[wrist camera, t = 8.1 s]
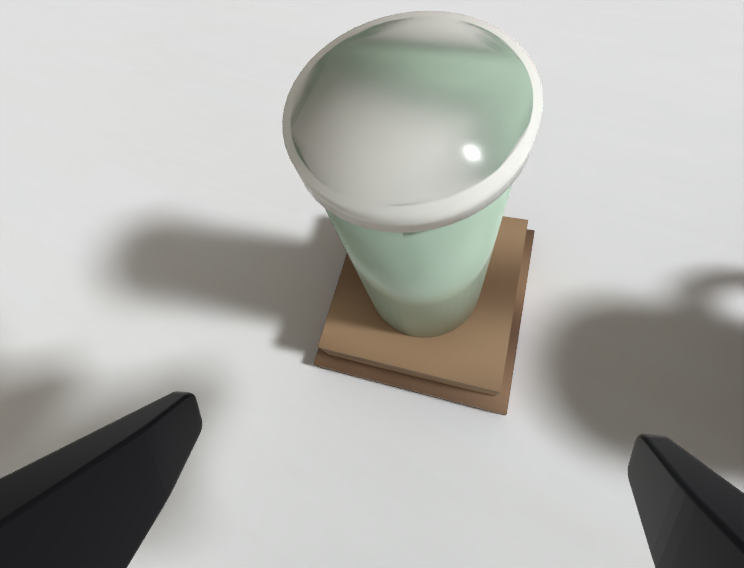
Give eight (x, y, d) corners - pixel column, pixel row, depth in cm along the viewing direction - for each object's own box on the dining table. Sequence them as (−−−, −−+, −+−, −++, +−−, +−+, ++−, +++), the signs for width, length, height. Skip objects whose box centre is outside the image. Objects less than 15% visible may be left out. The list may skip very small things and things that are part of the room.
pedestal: (504, 415, 20) (514, 412, 17) (317, 366, 23) (300, 357, 20) (531, 236, 23) (543, 210, 21) (365, 211, 26) (356, 184, 23)
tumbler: (443, 365, 19) (450, 264, 8) (344, 301, 21) (233, 146, 9) (506, 266, 20) (592, 53, 9) (407, 214, 22) (374, -13, 11)
